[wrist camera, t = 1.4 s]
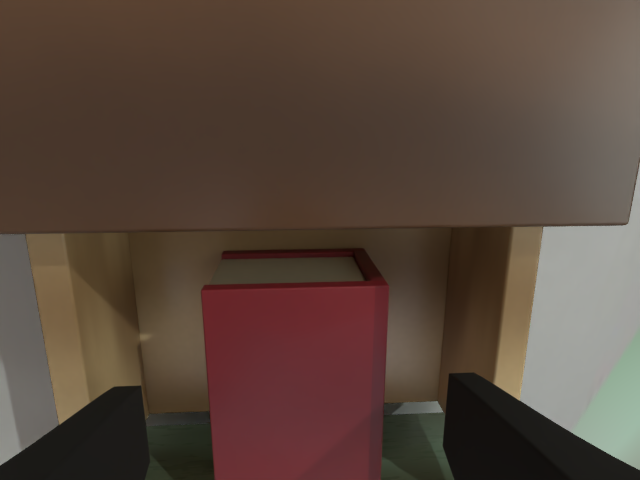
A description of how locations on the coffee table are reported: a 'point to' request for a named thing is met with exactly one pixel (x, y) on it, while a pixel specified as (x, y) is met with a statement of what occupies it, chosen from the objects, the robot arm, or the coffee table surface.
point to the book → (296, 364)
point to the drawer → (207, 247)
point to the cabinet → (317, 114)
